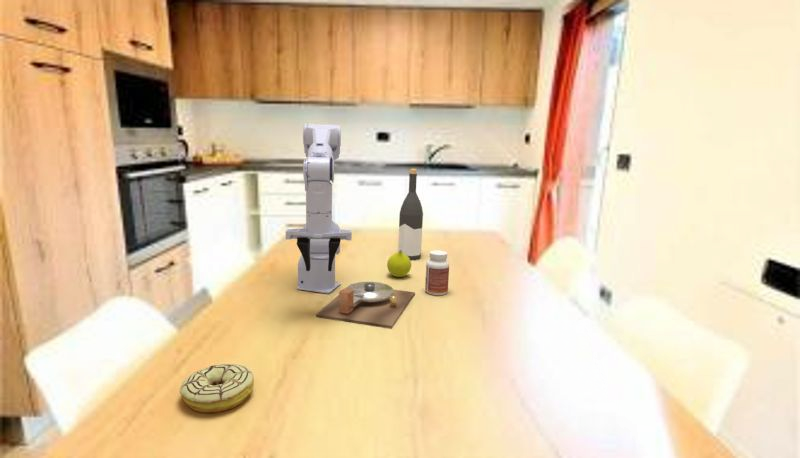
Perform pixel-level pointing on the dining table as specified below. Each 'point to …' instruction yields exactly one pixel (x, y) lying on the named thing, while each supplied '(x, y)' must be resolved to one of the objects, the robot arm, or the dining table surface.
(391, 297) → the dowel
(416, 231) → the wine bottle
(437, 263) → the pill bottle
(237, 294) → the dining table surface
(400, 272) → the yellow round fruit
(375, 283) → the metal lid
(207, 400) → the decorated donut
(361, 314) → the board
